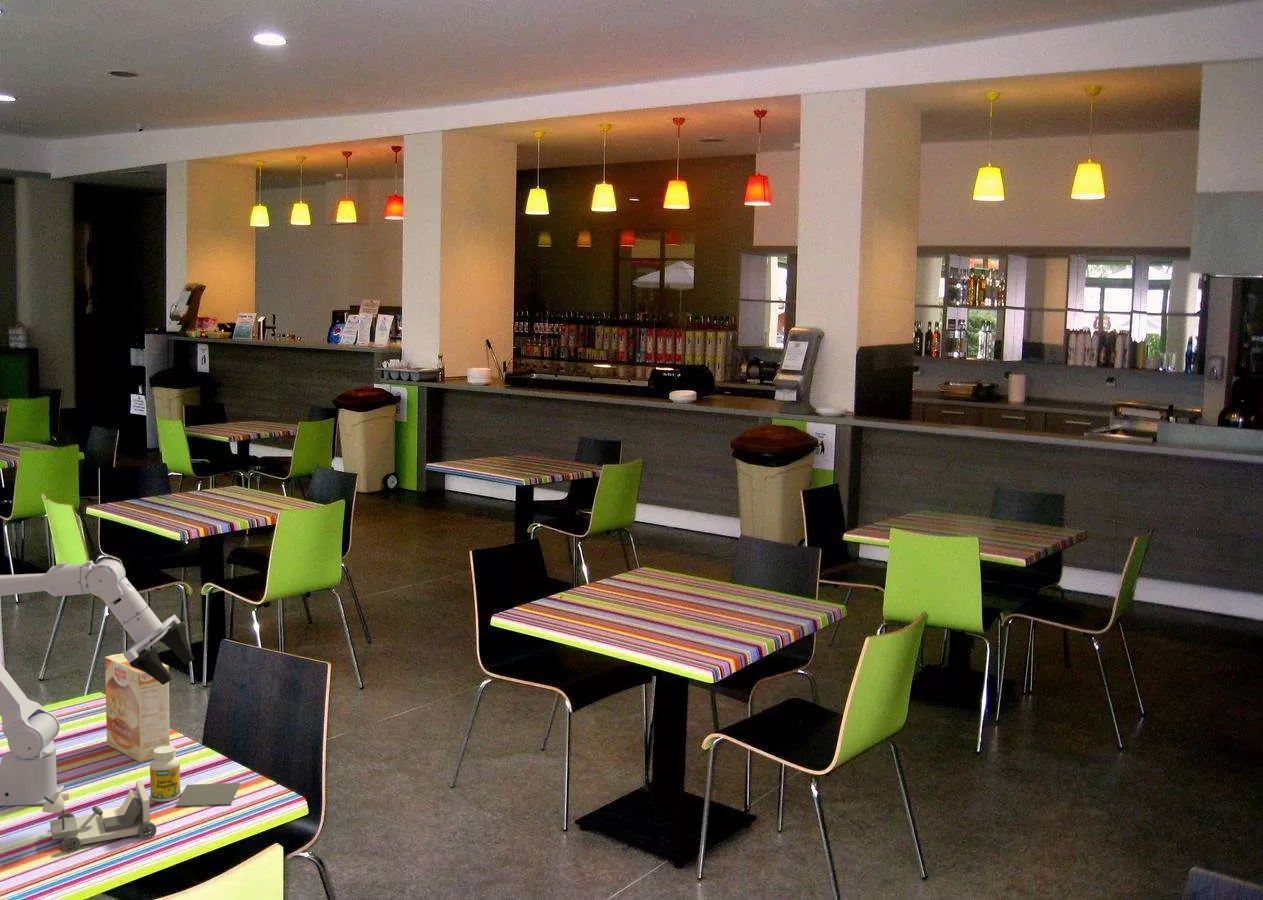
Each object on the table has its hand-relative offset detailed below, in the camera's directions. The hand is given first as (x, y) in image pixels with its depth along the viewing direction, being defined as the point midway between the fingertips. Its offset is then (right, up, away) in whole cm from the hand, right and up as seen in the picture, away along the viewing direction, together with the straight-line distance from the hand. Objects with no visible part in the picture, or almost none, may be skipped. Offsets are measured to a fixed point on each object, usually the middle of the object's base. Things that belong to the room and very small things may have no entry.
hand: (178, 671), depth 227 cm
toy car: (-9, -27, -15) cm, 32 cm away
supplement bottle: (-3, -25, +1) cm, 25 cm away
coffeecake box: (-18, -21, +25) cm, 38 cm away
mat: (+5, -24, +3) cm, 25 cm away
